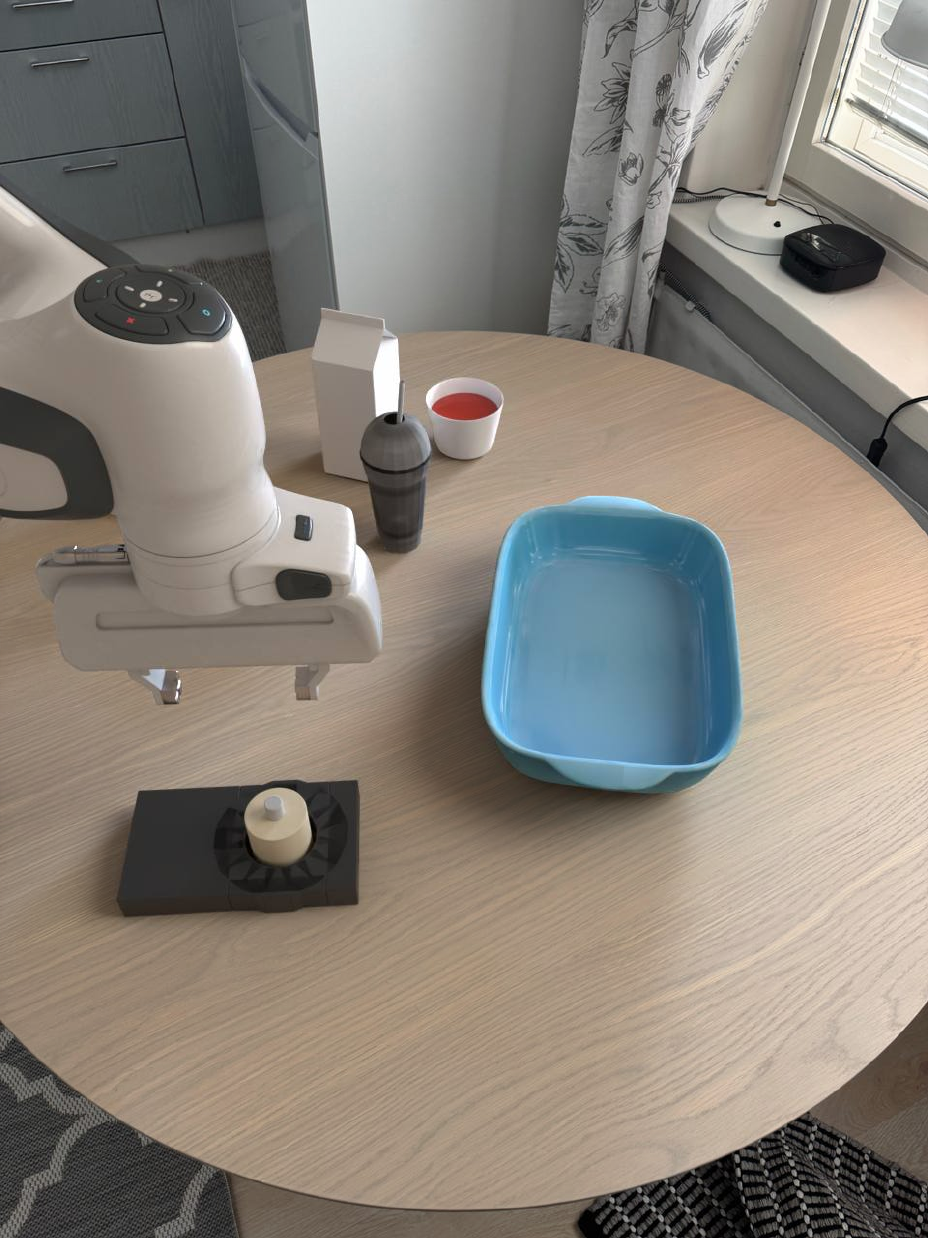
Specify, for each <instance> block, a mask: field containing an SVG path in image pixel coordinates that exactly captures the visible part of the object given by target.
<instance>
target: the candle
mask: <svg viewBox="0 0 928 1238" xmlns="http://www.w3.org/2000/svg"><path fill="white" fill-rule="evenodd" d="M425 404H426V409H427V412H428V417H429V421H430V426H431V430H432V434H433V439H434V443H435V445H436V447H437V449H438V451H439V452H440V453H442V454H444V455H445V456H446V457H449V458H451V459H456V460H473V459H477V458H480V457H483V456H484V455H486V454H488V453H489V451H491V449H492V448H493V445H494V442H495V438H496V434H497V430H498V427H499V422H500V418H501V414H502V410H503V406H504V395H503V392H502V391H501V390H500V389H499V388H498V387H497V386H496V385H494V384H493V383H491V382H489V381H486V380H483V379H479V378H476V377H454V378H449V379H445V380H443V381H440V382H438V383H436V384H435V385H433V386H432V387H431V388H430V389H429V390H428V391H427V393H426V396H425Z"/></svg>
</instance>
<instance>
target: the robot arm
mask: <svg viewBox="0 0 928 1238" xmlns="http://www.w3.org/2000/svg"><path fill="white" fill-rule="evenodd" d="M243 332H244V331H243V330H242V328H241V325H240V324H239V321H238V318H237V317H236V315H235V313H234V312H233V311H232V308H231V307H230V305H229V304H228V302H227V301H226V300H225V298H224V296H222V295H221V294H220V293H219V292H218V290H217V289H216V288H215V287H213V286H212V285H210V283H208V282H207V281H205V280H203V279H202V278H200V277H198V276H196V275H194V274H191V273H189V272H187V271H183V270H181V269H176V268H173V267H168V266H164V265H160V264H159V265H158V264H148V263H147V264H146V263H141V262H139V261H138V260H137V259H135V258H134V257H133V256H131V255H130V254H128V252H127V253H126V252H125V251H124V250H122V249H120V248H118V247H117V246H115V245H113V244H111V243H110V242H108V241H106V240H104V239H102V238H100V237H98V236H96V235H93V234H91V233H90V232H88V231H86V230H84V229H82V228H80V227H78V226H76V225H74V224H73V223H71V222H69V221H67V220H65V219H64V218H62V217H61V216H59V215H58V214H56V213H54V212H53V211H52V210H50V209H49V208H48V207H46V206H45V205H44V204H42V203H41V202H39V201H38V200H36V199H35V198H34V197H33V196H31V195H30V194H29V193H27V192H26V191H25V190H24V189H22V188H21V187H20V186H18V185H17V184H16V183H14V182H13V181H12V180H10V179H9V178H8V177H6V176H5V174H3V173H2V172H0V518H5V519H6V518H7V519H13V520H30V521H83V520H86V521H87V520H96V519H101V518H104V517H108V516H109V515H113V516H115V518H116V521H117V524H118V528H119V531H120V534H121V536H122V537H121V538H122V541H123V544H121V543H120V544H118V543H117V544H100V545H93V546H79V545H62V546H57V547H54V548H53V551H52V552H50V553H47V554H45V555H43V556H42V557H40V558H39V559H38V560H37V562H36V563H35V566H34V571H35V577H36V581H37V583H38V585H39V588H40V591H41V593H42V595H43V596H44V597H45V598H46V599H47V600H48V601H50V602H51V603H52V604H53V606H52V608H53V611H52V612H53V621H54V628H55V633H56V638H57V641H58V645H59V650H60V652H61V655H62V658H63V660H64V662H65V663H67V664H69V665H70V666H71V667H73V668H75V669H77V670H79V671H81V672H112V671H114V672H115V671H127V673H128V676H129V678H131V679H132V680H134V681H135V682H137V684H140V685H141V686H142V687H143V688H145V689H147V690H148V691H149V692H151V693H152V695H153V698H154V701H155V704H156V706H167V705H170V706H171V705H180V703H181V696H182V692H183V686H182V681H181V680H180V674H179V671H178V670H180V669H181V670H182V669H212V668H213V669H215V668H216V669H217V668H245V667H247V668H250V667H281V666H282V667H283V666H296V667H295V675H294V676H295V679H294V693H295V700H296V701H298V702H299V701H319V695H320V694H319V693H320V684H321V682H322V681H323V680H324V679H325V677H326V676H327V675H328V674H329V673H330V672H331V665H343V664H345V665H347V664H350V665H351V664H368V663H371V662H372V661H374V660H375V659H376V658H377V657H378V656H379V655H380V654H381V653H382V652H383V651H382V650H383V616H382V614H383V613H382V605H381V599H380V593H379V588H378V584H377V580H376V576H375V572H374V569H373V566H372V563H371V560H370V559H369V557H368V555H367V554H366V552H365V551H364V550H363V549H362V548H361V547H360V546H359V545H358V544H357V534H356V524H355V520H354V515H353V514H354V513H353V511H352V509H350V507H348V506H346V505H344V504H341V503H338V502H334V501H329V500H324V499H320V498H316V497H311V496H308V495H304V494H299V493H296V492H292V491H289V490H286V489H283V488H280V487H277V486H274V485H273V483H272V479H271V478H270V476H269V474H268V472H267V470H266V469H265V465H264V453H265V450H266V442H267V441H266V440H267V435H266V426H265V420H264V413H263V409H262V408H263V407H262V403H261V397H260V393H259V388H258V384H257V383H258V382H257V379H256V375H255V370H254V366H253V362H252V357H251V355H250V351H249V348H248V344H247V341H246V338H245V335H244V333H243Z"/></svg>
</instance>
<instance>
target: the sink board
mask: <svg viewBox="0 0 928 1238" xmlns="http://www.w3.org/2000/svg"><path fill="white" fill-rule="evenodd" d="M273 788H286V789H290V790H293V791H295V792H296V793H298V794H299V795H300V796H301V797H302V798H303V799H304V801H305V803H306V806H307V812H308V817H309V822H310V827H311V832H312V833H314V834H315V836H316V839H315V842H314V846H313V848H312V850H311V852H310V853H309V854H307V855H306V856H305V857H304V858H303V859H302V860H301V861H299V862H297V863H294V864H292V865H289V866H287V867H275V868H271V867H268V866H265V865H262V864H259V863H257V862H256V861H255V858H254V857H252V856H251V849H252V847H251V843H250V840H249V836H248V833H247V829H246V825H245V821H244V815H245V811H246V808H247V806H248V804H249V803H250V801H251V800H252V799H253V798H254V797H255V796H257V795H258V794H260V793H261V792H264V791H266V790H269V789H273ZM360 815H361V794H360V786H359V780H357V779H348V780H330V781H329V780H328V781H310V782H309V781H305V780H301V779H283V780H281V779H280V780H270V781H268V782H266V783H264V784H247V785H245V784H243V785H228V786H226V785H225V786H208V787H207V786H206V787H188V788H187V787H185V788H166V789H165V788H164V789H146V790H145V789H144V790H143V789H142V790H138V791H137V795H136V800H135V805H134V811H133V815H132V821H131V825H130V826H131V827H130V831H129V835H128V840H127V846H126V850H125V855H124V859H123V865H122V870H121V875H120V880H119V886H118V891H117V896H116V903H117V905H118V908H119V909H120V911H121V914H122V915H123V917H124V918H128V917H129V918H130V917H145V916H161V915H162V916H164V915H165V916H166V915H182V914H183V915H184V914H202V913H218V912H222V913H223V912H240V911H243V912H244V911H260V912H263V913H266V914H271V913H290V912H297V911H298V910H301V909H303V908H311V907H312V908H313V907H314V908H317V907H328V906H329V907H334V906H348V905H349V906H351V905H359V901H360V900H359V899H360V898H359V897H360V894H359V893H360V891H359V890H360V829H361V827H360V825H361V824H360V822H361V821H360V818H361V817H360Z"/></svg>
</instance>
